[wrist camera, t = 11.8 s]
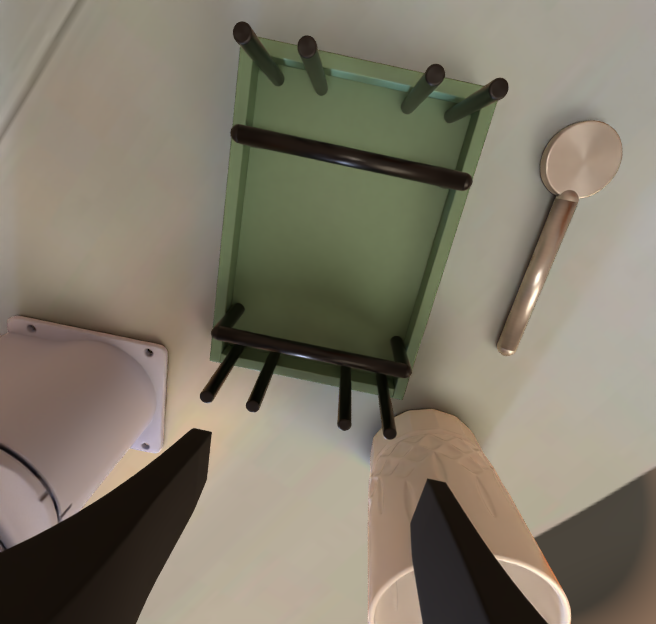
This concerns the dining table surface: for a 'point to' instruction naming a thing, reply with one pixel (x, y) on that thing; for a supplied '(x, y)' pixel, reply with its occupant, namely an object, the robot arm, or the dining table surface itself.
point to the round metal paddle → (562, 207)
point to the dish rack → (349, 159)
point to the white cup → (473, 496)
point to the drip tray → (339, 213)
